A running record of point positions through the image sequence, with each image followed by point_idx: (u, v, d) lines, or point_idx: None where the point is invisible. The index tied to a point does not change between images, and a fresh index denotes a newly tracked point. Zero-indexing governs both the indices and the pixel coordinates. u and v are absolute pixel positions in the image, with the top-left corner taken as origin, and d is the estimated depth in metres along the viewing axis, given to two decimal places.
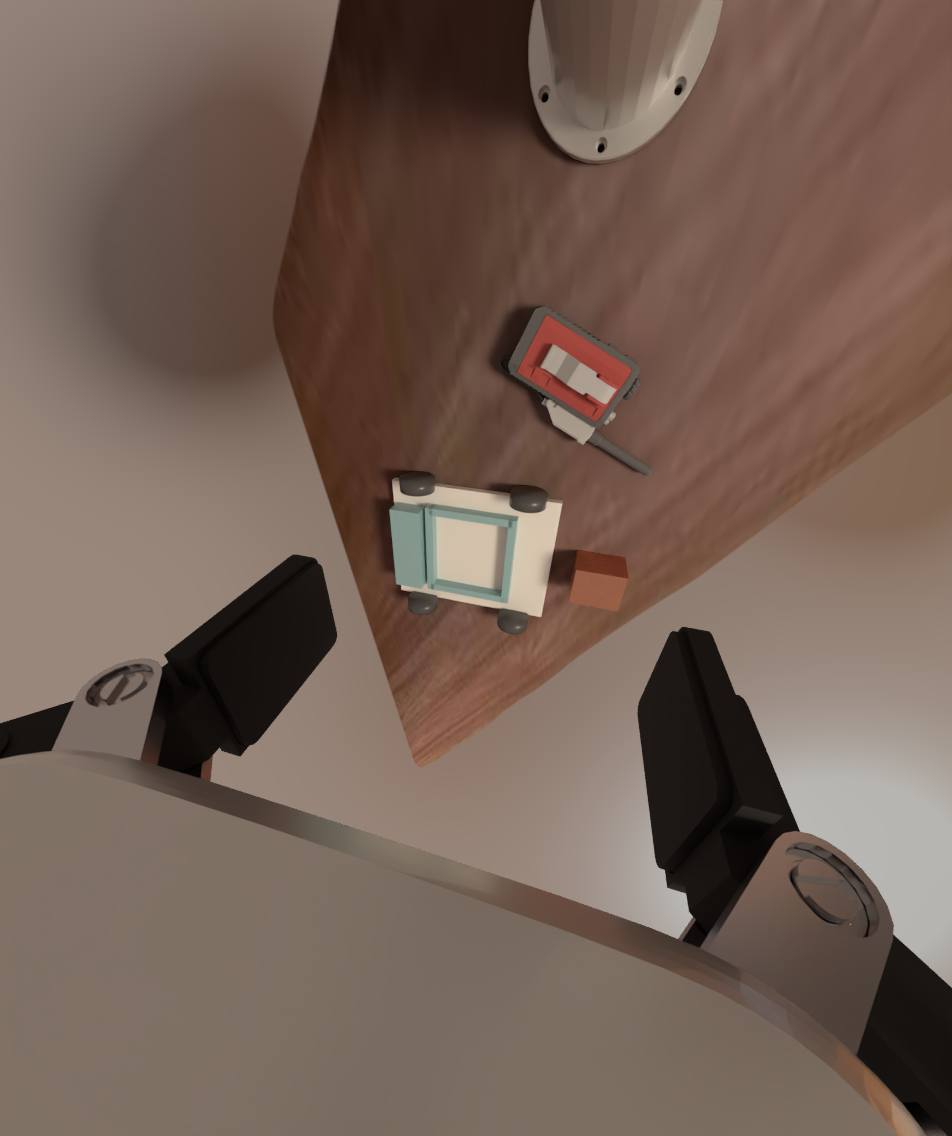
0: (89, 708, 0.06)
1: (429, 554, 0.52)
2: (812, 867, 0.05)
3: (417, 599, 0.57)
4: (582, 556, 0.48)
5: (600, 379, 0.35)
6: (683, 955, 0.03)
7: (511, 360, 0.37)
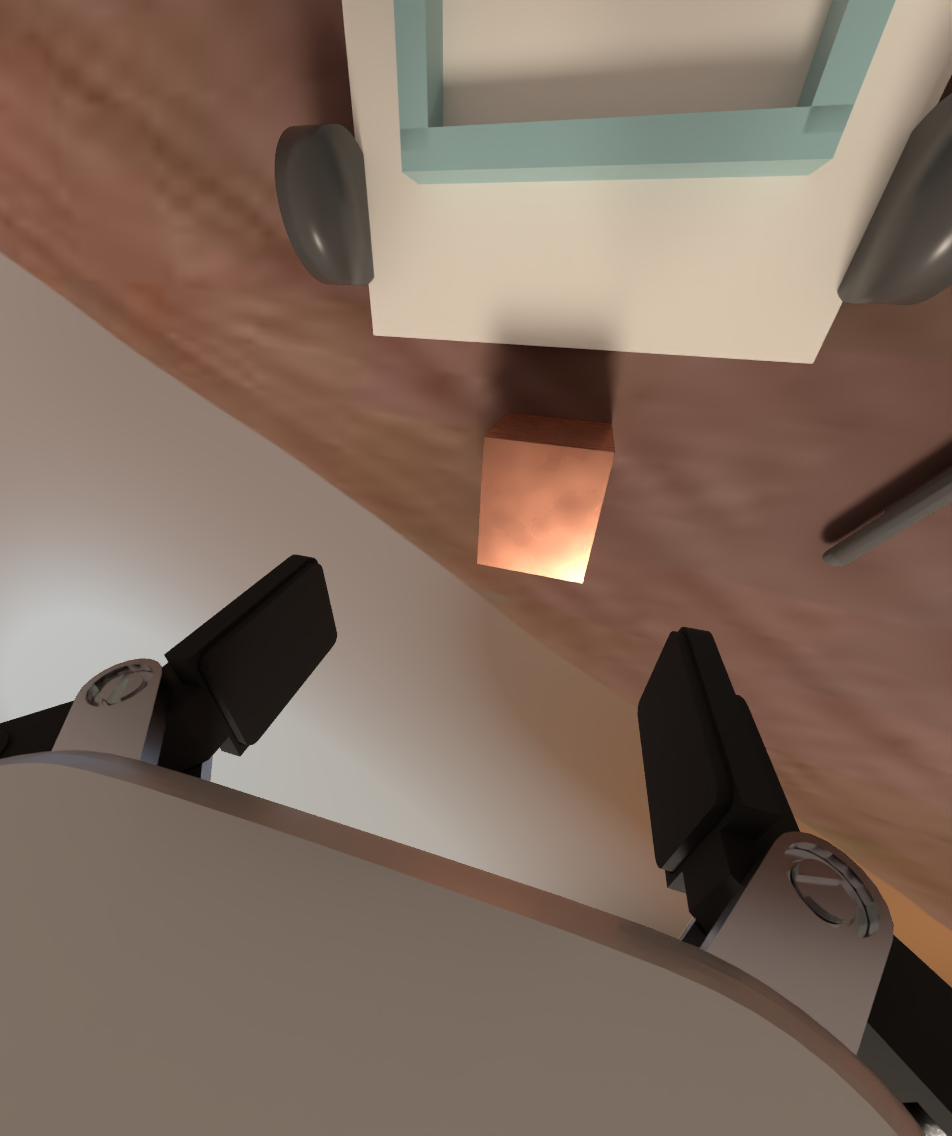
0: (89, 708, 0.06)
1: None
2: (812, 867, 0.05)
3: None
4: None
5: None
6: (683, 955, 0.03)
7: None
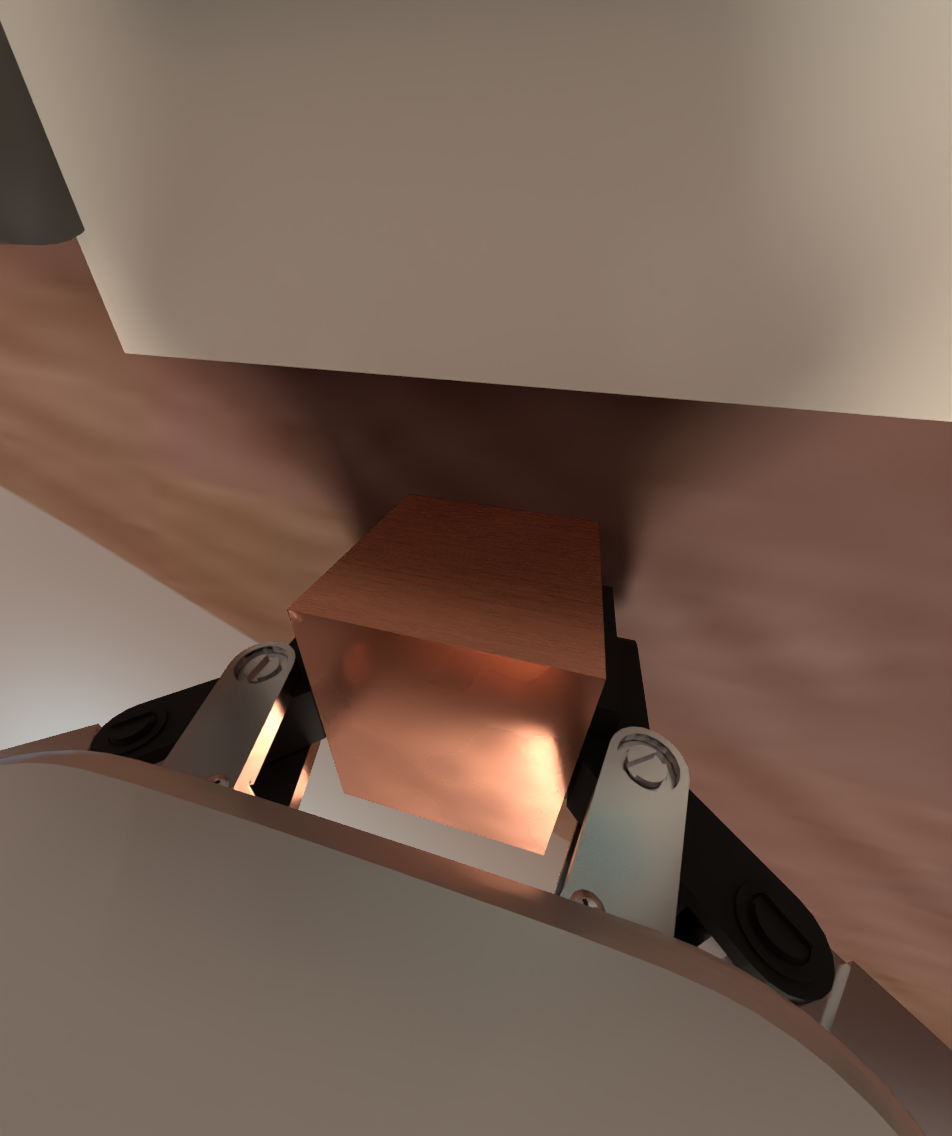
0: (240, 685, 0.07)
1: None
2: (636, 751, 0.06)
3: None
4: None
5: None
6: (683, 955, 0.03)
7: None
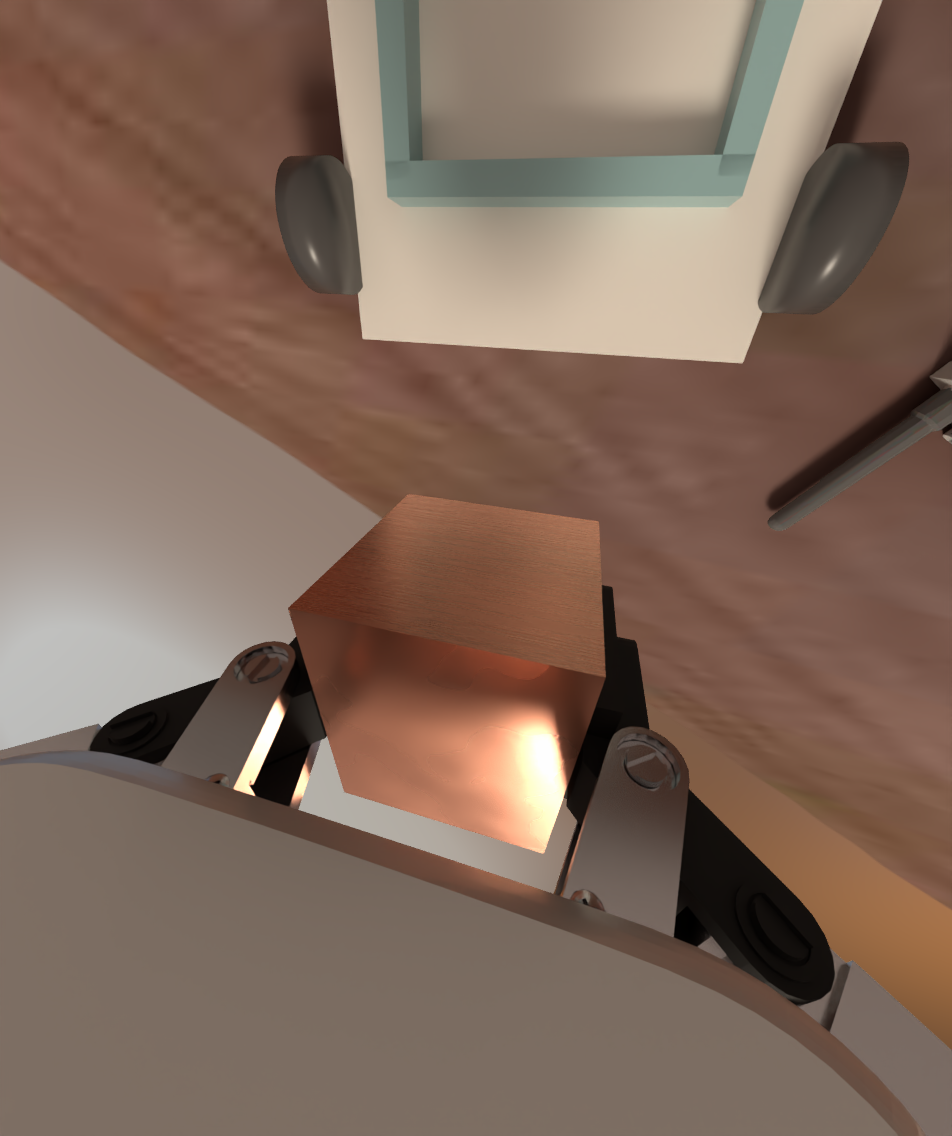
0: (240, 685, 0.07)
1: None
2: (636, 751, 0.06)
3: None
4: None
5: None
6: (683, 954, 0.03)
7: None
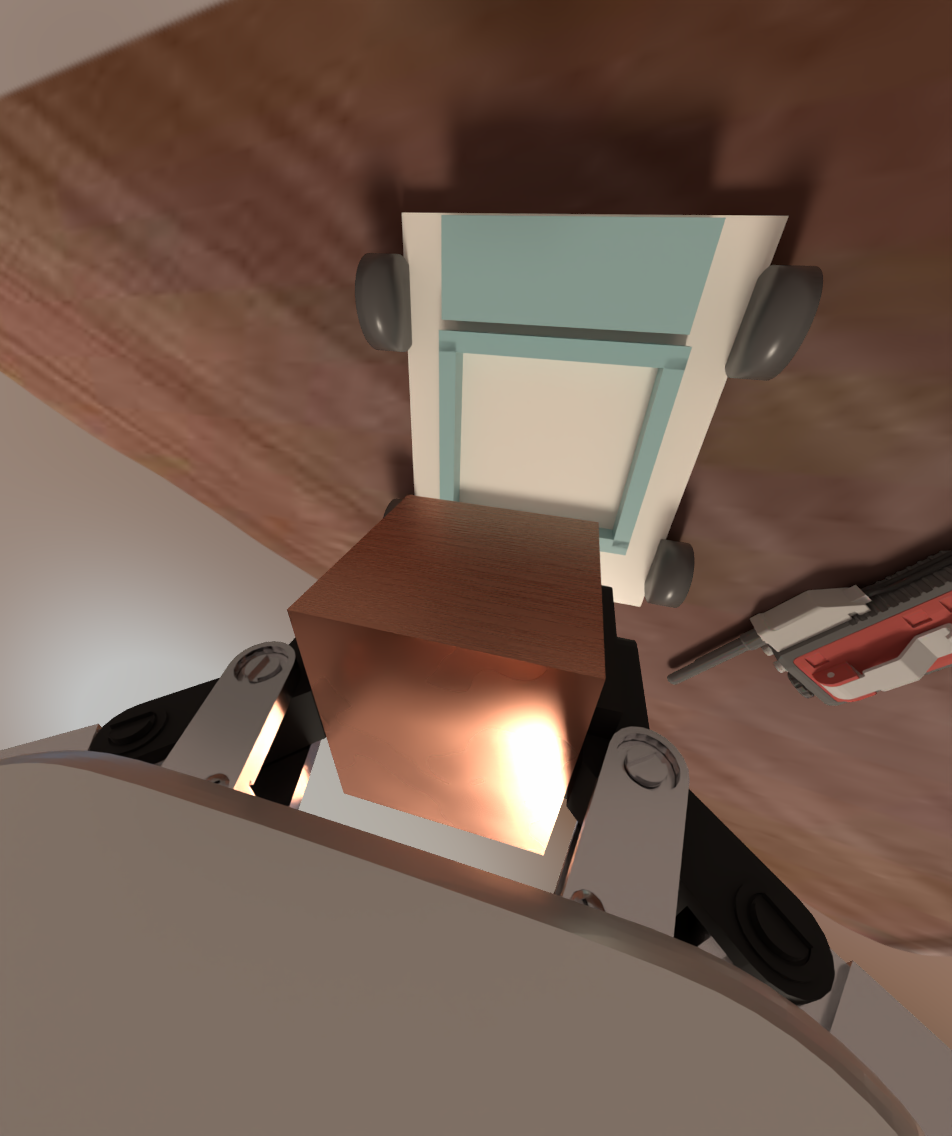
0: (240, 685, 0.07)
1: (546, 347, 0.20)
2: (636, 751, 0.06)
3: (396, 291, 0.20)
4: None
5: (871, 692, 0.24)
6: (683, 955, 0.03)
7: None
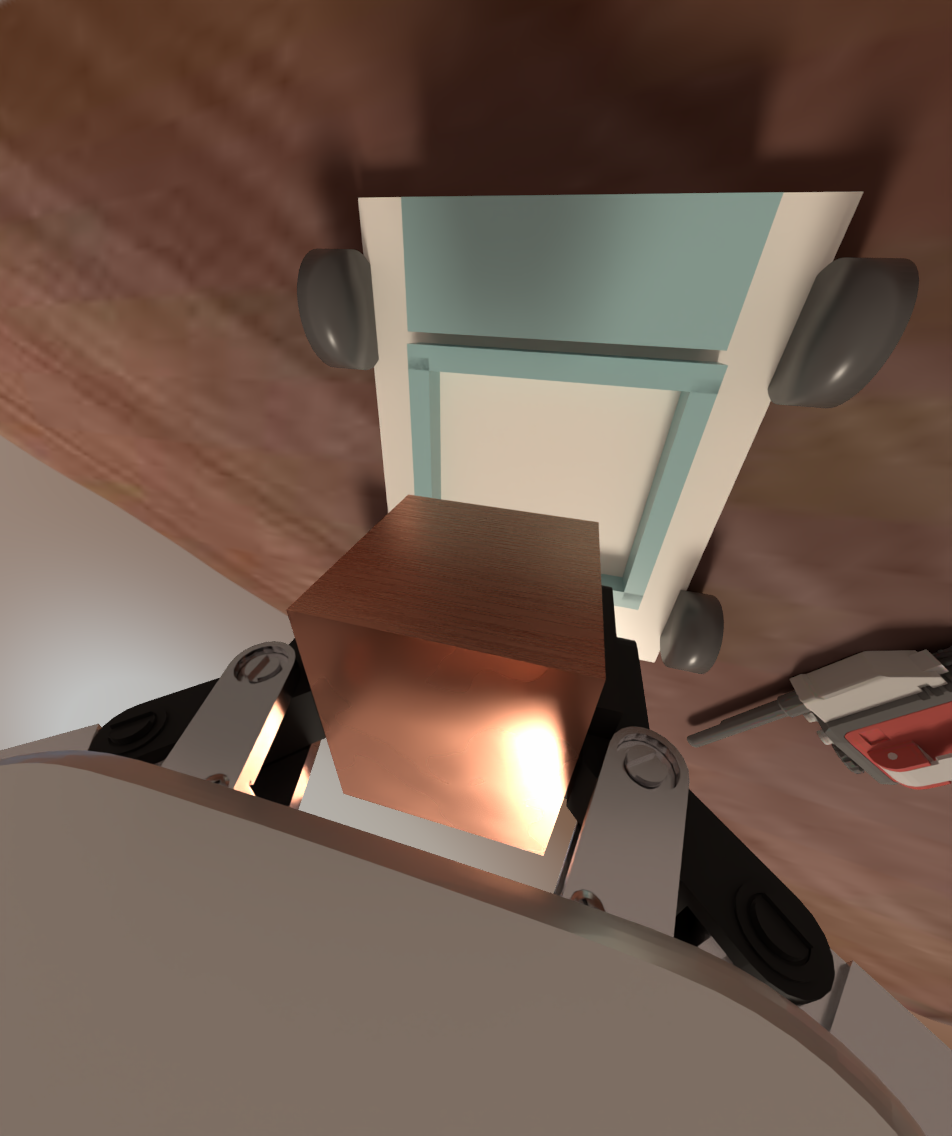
0: (240, 685, 0.07)
1: (540, 365, 0.16)
2: (636, 751, 0.06)
3: (351, 296, 0.16)
4: None
5: (944, 781, 0.20)
6: (682, 953, 0.03)
7: None
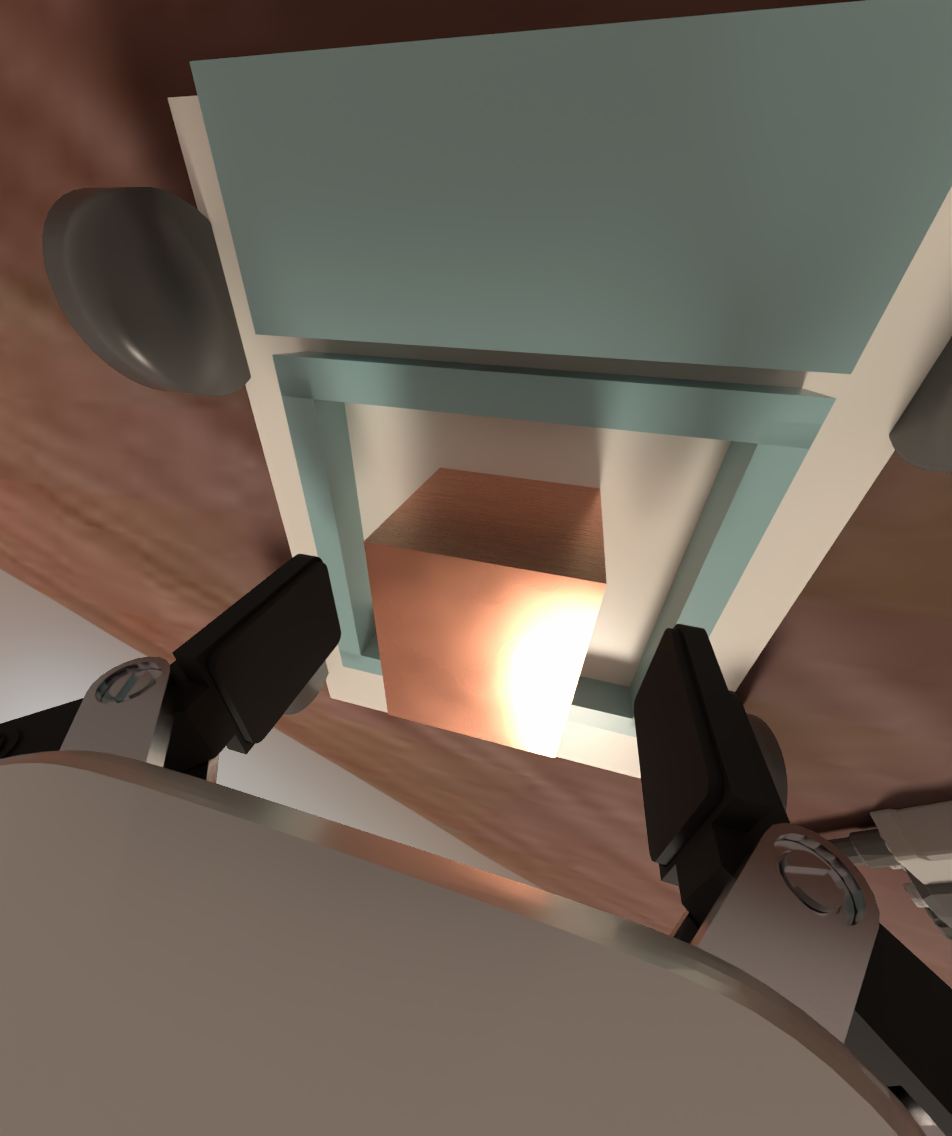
0: (98, 705, 0.06)
1: (493, 393, 0.09)
2: (801, 858, 0.05)
3: (164, 273, 0.09)
4: None
5: None
6: (683, 955, 0.03)
7: None
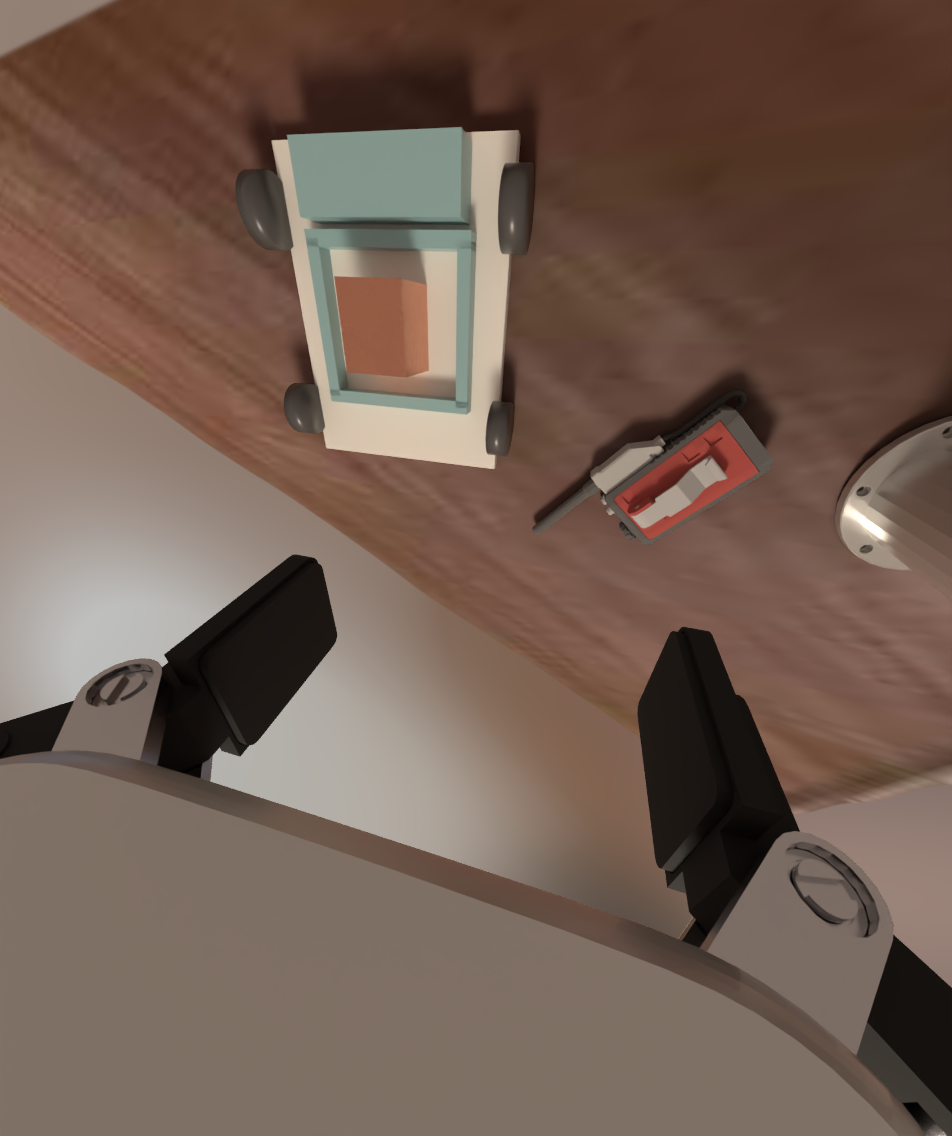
0: (89, 708, 0.06)
1: (378, 237, 0.27)
2: (813, 867, 0.05)
3: (269, 197, 0.27)
4: (419, 294, 0.28)
5: (661, 518, 0.32)
6: (682, 954, 0.03)
7: (739, 418, 0.28)
